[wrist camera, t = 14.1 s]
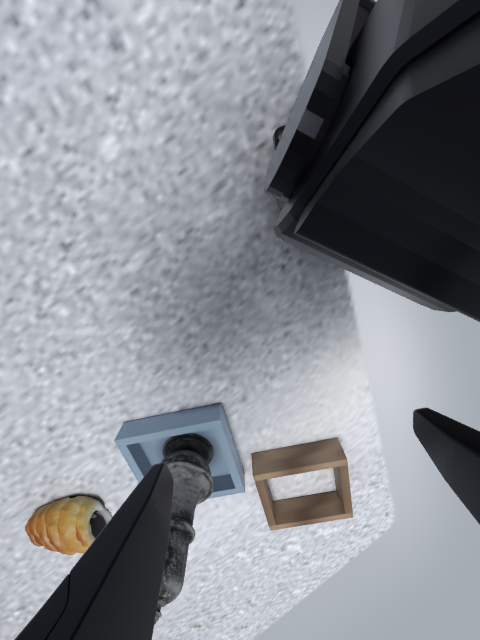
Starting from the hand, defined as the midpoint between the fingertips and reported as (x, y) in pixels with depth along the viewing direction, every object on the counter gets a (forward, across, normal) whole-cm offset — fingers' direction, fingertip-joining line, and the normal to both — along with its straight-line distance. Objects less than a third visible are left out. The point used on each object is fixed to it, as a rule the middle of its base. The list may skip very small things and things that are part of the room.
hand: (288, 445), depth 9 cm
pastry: (+15, +26, +20) cm, 36 cm away
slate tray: (+14, +10, +13) cm, 21 cm away
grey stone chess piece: (+13, +10, +13) cm, 21 cm away
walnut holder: (+14, -1, +20) cm, 24 cm away
